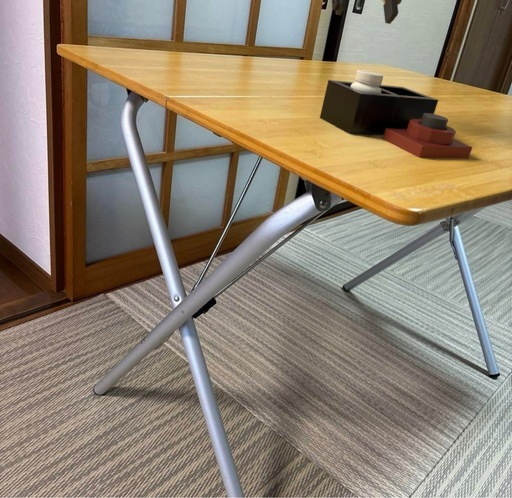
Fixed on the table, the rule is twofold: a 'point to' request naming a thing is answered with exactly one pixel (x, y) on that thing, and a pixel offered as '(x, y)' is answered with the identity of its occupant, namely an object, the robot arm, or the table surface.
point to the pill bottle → (367, 82)
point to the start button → (434, 121)
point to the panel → (427, 141)
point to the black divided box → (373, 108)
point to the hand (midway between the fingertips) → (366, 15)
